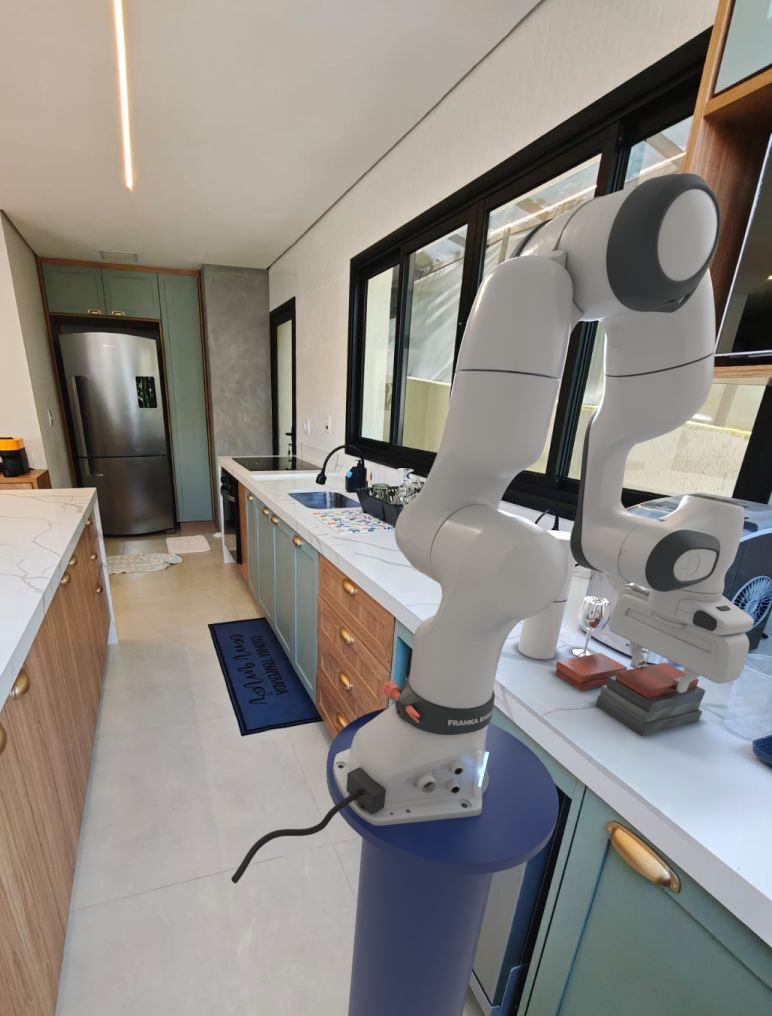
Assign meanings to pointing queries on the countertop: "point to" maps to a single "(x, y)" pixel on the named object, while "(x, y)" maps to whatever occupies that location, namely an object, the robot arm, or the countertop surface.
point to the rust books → (588, 670)
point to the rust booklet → (652, 679)
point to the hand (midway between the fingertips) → (657, 678)
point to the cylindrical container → (548, 615)
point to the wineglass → (592, 619)
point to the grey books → (650, 707)
